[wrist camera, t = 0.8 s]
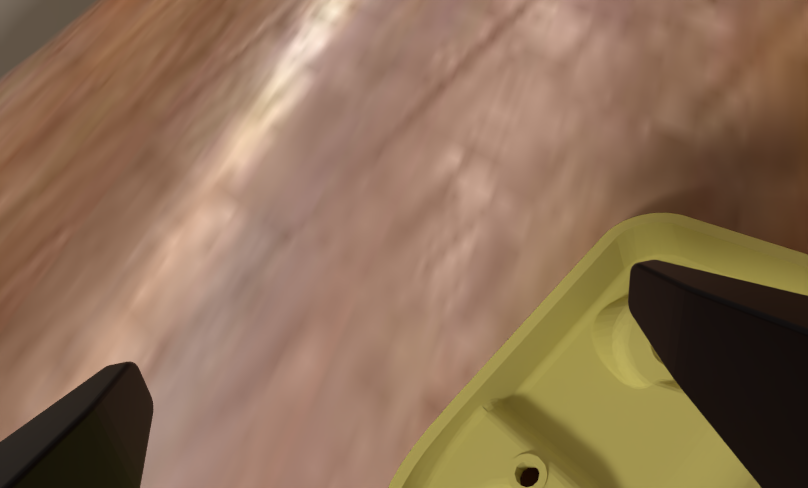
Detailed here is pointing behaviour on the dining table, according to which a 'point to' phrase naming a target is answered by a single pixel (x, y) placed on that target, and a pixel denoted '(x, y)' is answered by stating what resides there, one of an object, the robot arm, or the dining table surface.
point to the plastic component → (597, 379)
